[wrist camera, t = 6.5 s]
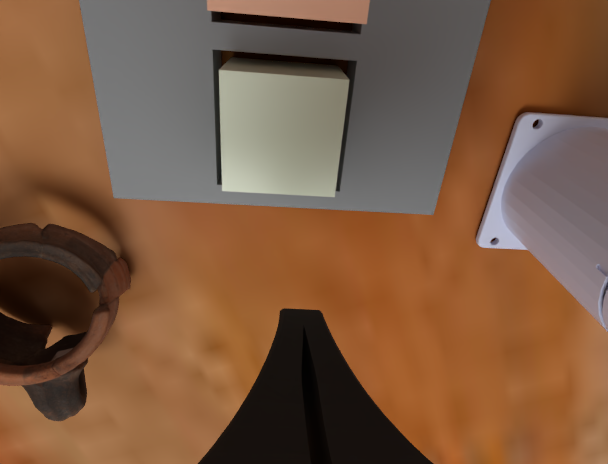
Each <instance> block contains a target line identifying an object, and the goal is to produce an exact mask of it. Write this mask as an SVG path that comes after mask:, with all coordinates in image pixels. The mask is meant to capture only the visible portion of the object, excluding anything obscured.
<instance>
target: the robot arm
mask: <svg viewBox="0 0 608 464" xmlns="http://www.w3.org/2000/svg"><path fill="white" fill-rule="evenodd" d="M537 119H539V123H538V124H537V126H535V127H532V126H533V123H534V121H536V120H537ZM493 238H496V239H495V240H494V241H492V242H490V241H491V240H492V239H493ZM476 242H477V244H478V245H479V246H480V247H483V248H502V249H523V250H529V251H530V252H531V253H532V254H533V255H534V256H535V257H536V258H537V260H538V261H539V262H540V263H541V264H542V265H543V266H544V267H545V268H546V269H547V270H548V271H549V272H550V273H551V274H552V275H553V276H554V277H555V278H556V279H557V280H558V281H559V282H560V283H561V284H562V285H563V286H564V287H565V288H566V289H567V290H568V291H569V292H570V293H571V294H572V295H573V296H574V298H575V299H576V300H577V301H578V302H579V303H580V304H581V305H582V306H583V307H584V308H585V309H586V310H587V311H588V312H589V313H590V314H591V315H592V316H593V317H594V318H595V319H596V320H597V321H598V322H599V323H600V324H601V325H602V326H603V327H604V328H605V329H606V330H607V331H608V118H603V117H589V116H575V115H561V114H548V113H534V112H525V113H523V114H521V115H520V116H519V117H518V118H517V120H516V122H515V124H514V127H513V130H512V133H511V136H510V139H509V142H508V145H507V148H506V151H505V154H504V157H503V160H502V163H501V166H500V169H499V172H498V175H497V178H496V181H495V183H494V186H493V189H492V192H491V195H490V198H489V201H488V204H487V207H486V210H485V213H484V216H483V219H482V222H481V225H480V228H479V231H478V234H477V237H476ZM198 464H433V463H432V462H431V461H430V460H428V459H427V458H426V457H425V456H424V455H423V454H422V453H421V452H420V451H419V450H418V449H416V448H415V447H414V446H413V445H412V444H411V443H410V442H409V441H408V440H407V439H406V438H405V437H404V435H403V434H402V433H401V432H400V431H399V430H398V429H397V428H396V427H395V426H394V425H393V424H392V423H391V422H390V420H389V419H388V418H387V417H386V416H385V415H384V414H383V412H382V411H381V410H380V409H379V408H378V406H377V405H376V404H375V403H374V401H373V400H372V399H371V397H370V396H369V395H368V394H367V392H366V391H365V389H364V388H363V387H362V385H361V384H360V382H359V381H358V379H357V378H356V376H355V375H354V373H353V372H352V370H351V369H350V367H349V366H348V364H347V362H346V361H345V359H344V357H343V355H342V354H341V352H340V350H339V348H338V347H337V345H336V343H335V341H334V339H333V337H332V335H331V333H330V331H329V329H328V327H327V324H326V322H325V320H324V317H323V314H322V313H321V311H320V310H304V309H282V310H281V311H280V317H279V324H278V328H277V332H276V335H275V338H274V341H273V343H272V346H271V349H270V351H269V354H268V356H267V359H266V361H265V363H264V365H263V367H262V369H261V371H260V374H259V376H258V377H257V379H256V381H255V383H254V385H253V387H252V389H251V390H250V392H249V394H248V396H247V397H246V399H245V401H244V402H243V404H242V405H241V407H240V409H239V410H238V412H237V413H236V415H235V416H234V418H233V419H232V421H231V422H230V424H229V425H228V426H227V428H226V429H225V430H224V432H223V433H222V434H221V436H220V437H219V438H218V440H217V441H216V442H215V444H214V445H213V446H212V448H211V449H210V450H209V451H208V452H207V454H206V455H205V456H204V457H203V458H202V459H201V461H200V462H199V463H198Z"/></svg>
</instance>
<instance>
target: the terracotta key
mask: <svg viewBox="0 0 608 464" xmlns="http://www.w3.org/2000/svg"><path fill="white" fill-rule="evenodd" d="M369 3H370V0H207V11H218V12H230V13H241V14H253V15H265V16H276V17H288V18H299V19H311V20H322V21H334V22H346V23H357V24H367V18H368V11H369Z"/></svg>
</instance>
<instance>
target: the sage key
mask: <svg viewBox="0 0 608 464" xmlns="http://www.w3.org/2000/svg"><path fill="white" fill-rule="evenodd" d="M348 88H349V79H348V77H347V76H346V75H345V74H344V72H343V71H342V70H341V69H340V67H339V66H338V65H325V64H312V63H300V62H287V61H274V60H261V59H249V58H236V57H231V58H230V59H229V60H228V61H227V62H226V63H225V64H224V65H223V66H222V67H221V68H220V69H219V96H220V133H221V170H222V191H230V192H248V193H266V194H285V195H303V196H321V197H335V191H336V183H337V175H338V167H339V159H340V151H341V143H342V135H343V128H344V120H345V112H346V104H347V96H348Z"/></svg>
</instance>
